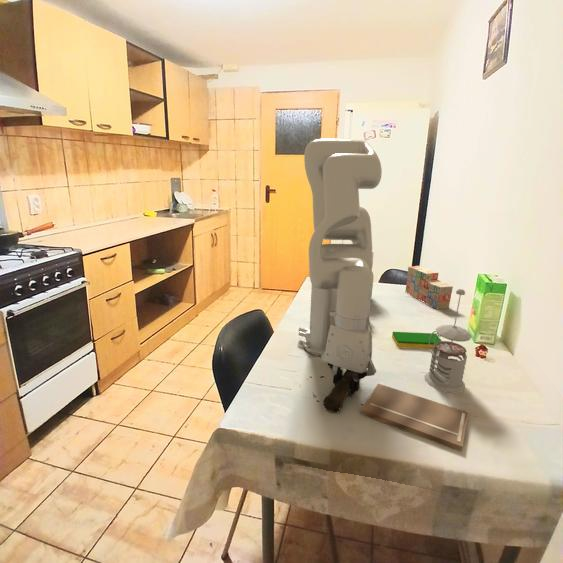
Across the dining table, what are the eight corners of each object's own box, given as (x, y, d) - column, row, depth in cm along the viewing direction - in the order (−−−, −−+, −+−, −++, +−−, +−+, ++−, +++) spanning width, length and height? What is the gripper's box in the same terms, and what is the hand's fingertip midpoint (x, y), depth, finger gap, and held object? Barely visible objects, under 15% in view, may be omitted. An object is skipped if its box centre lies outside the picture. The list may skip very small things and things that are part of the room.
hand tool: (339, 416, 77) (340, 398, 76) (322, 409, 79) (323, 391, 77) (366, 375, 92) (368, 359, 91) (352, 370, 94) (353, 355, 93)
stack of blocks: (449, 308, 141) (454, 278, 137) (436, 309, 139) (440, 279, 136) (416, 291, 161) (420, 265, 157) (404, 292, 159) (408, 265, 156)
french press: (441, 395, 85) (459, 297, 78) (411, 370, 96) (425, 282, 88) (474, 389, 88) (495, 294, 80) (442, 365, 98) (457, 279, 91)
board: (361, 414, 78) (361, 409, 77) (377, 387, 88) (378, 383, 87) (461, 451, 68) (462, 446, 67) (467, 416, 78) (468, 411, 77)
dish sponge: (391, 338, 115) (392, 331, 115) (434, 340, 115) (436, 333, 114) (396, 348, 109) (397, 341, 108) (443, 350, 108) (444, 343, 107)
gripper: (311, 317, 81) (308, 386, 87) (383, 335, 73) (373, 410, 79) (325, 307, 87) (321, 372, 93) (392, 323, 79) (383, 393, 85)
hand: (345, 389), depth 86 cm, fingers closed on hand tool, 3 cm apart
